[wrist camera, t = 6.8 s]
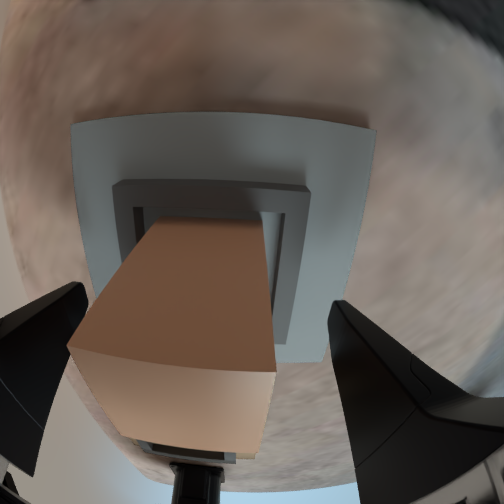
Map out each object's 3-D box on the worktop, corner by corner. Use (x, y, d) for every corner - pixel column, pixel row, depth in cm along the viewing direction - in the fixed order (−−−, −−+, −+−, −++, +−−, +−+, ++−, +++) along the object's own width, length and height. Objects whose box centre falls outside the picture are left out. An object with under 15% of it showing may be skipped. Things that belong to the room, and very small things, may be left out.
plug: (255, 304, 12) (258, 453, 6) (168, 298, 12) (121, 435, 6) (262, 220, 11) (276, 371, 4) (160, 216, 10) (66, 345, 4)
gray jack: (319, 354, 15) (324, 375, 13) (115, 339, 15) (106, 358, 13) (370, 129, 9) (388, 132, 8) (78, 123, 9) (56, 126, 8)
